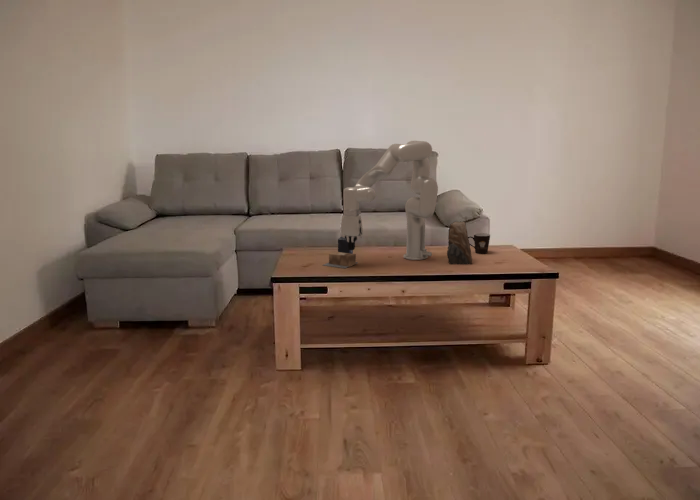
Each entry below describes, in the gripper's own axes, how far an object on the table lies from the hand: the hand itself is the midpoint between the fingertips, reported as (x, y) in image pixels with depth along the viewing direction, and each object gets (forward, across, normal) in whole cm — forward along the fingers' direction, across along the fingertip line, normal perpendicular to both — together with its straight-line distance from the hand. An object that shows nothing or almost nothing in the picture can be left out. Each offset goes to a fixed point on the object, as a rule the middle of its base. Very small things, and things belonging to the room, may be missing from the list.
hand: (351, 249), depth 289 cm
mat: (+8, +6, 0) cm, 10 cm away
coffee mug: (+8, -46, -58) cm, 74 cm away
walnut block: (+5, -1, 0) cm, 5 cm away
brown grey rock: (+8, -45, -32) cm, 55 cm away
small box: (+8, +12, -15) cm, 21 cm away
